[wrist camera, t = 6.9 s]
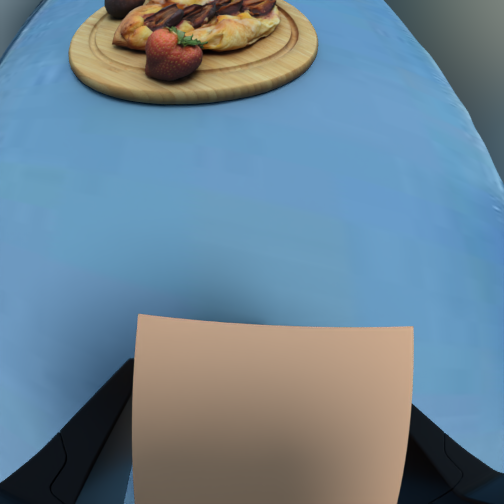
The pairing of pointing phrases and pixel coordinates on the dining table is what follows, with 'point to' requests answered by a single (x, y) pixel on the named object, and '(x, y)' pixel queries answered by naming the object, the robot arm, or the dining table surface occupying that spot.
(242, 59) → the wooden plate with food
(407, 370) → the peach block
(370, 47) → the dining table surface
